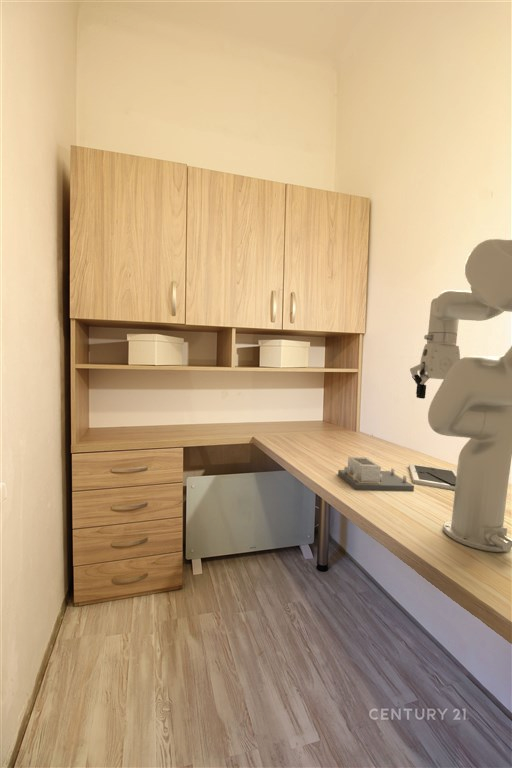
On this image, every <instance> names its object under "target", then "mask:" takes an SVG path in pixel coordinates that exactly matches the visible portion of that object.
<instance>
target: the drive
mask: <svg viewBox="0 0 512 768" xmlns="http://www.w3.org/2000/svg"><path fill="white" fill-rule="evenodd" d="M347 467H348V469H347V472H348V473H349V474H351V475H352V476H353V475H354V474H357V480H358V481H359V482H361V483H379V482H380V471H382V470H381V468H382V466H380V465H379V464H377V463H376V462H374V461H372V460H370V459H369V458H368V457H363V456H362V457H361V456H348V460H347Z"/></svg>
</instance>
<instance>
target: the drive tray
mask: <svg viewBox="0 0 512 768" xmlns="http://www.w3.org/2000/svg"><path fill="white" fill-rule="evenodd" d="M343 468H344V469H338V472H337V475H338V476H339V477H340V478H342V479H343V480H344V481H345V482H346V483H347V484H348V485H350V486H351V487H352V488H353V489H355V491H397V492H398V491H400V492H401V491H406V492H409V491H410V492H411V491H413V492H414V491H415V486H414V485H413V484H411V483H410V482H408V481H407V477H408V475H406V474H403V475H402V477H400V476H398V475H397V474H395V471H396V470H395V469H396V468H394V467H392V468H391V469H390V470H391V471H390V470H381V471H380V482H379V483H361V482H359V481H358V480H357V474H354V475H353V476H352V475H351V474H349V473H348V472H347V469H348V466H344V467H343Z"/></svg>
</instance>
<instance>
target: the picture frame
mask: <svg viewBox="0 0 512 768" xmlns="http://www.w3.org/2000/svg"><path fill="white" fill-rule="evenodd" d="M408 469H409V473H410V476H411V480H412V483H414V485H420V486H427V487H432V488H438V489H443V490H450V491H455V485H456V476H457V469H456V470H454V469H449V468H448V469H447V468H443V467H435V466H429V465H428V466H427V465H421V464H417V463H416V464H414V463H408Z"/></svg>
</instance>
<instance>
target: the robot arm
mask: <svg viewBox="0 0 512 768" xmlns="http://www.w3.org/2000/svg"><path fill="white" fill-rule="evenodd" d="M464 275H465V279H466V281H467V282H468V284H469V286H470V290H454V289H453V290H452V289H451V290H444V291H442V292H440V293H439V294H438V296H436V297H434V298H433V299H432V300H431V302H430V309H429V310H430V311H429V321H428V329H427V334H424V336H423V338H424V340H426V343H425V345H424V347H423V349H422V353H421V357H420V363H419V364H417V365H415V366H413V367H411V368H410V369H409V371H410V373H411V377H412V379H413V381H414V382H415V384H416V390H415V391H416V392H415V394H416V398H417V399H423V400H424V399H426V392H427V384H426V383H427V382H428V380H430V379H433V380H442V382H441V383H440V385H439V388H438V389H437V391H436V393H435V394H434V397H432V401H431V402H430V405H429V408H428V414H427V422H428V424H429V427H430V428H431V429H432V431H434V432H435V433H436V434H438V435H440V436H444V437H445V436H447V437H456V438H467V439H469V440H468V441H467V442H466V443H465V444H464V445H463V446H462V449H461V450H460V452H459V455H458V459H457V466H456V467H457V468H456V471H457V476H456V485H455V490H454V494H453V495H454V497H453V506H452V514H451V519H449V520H446V521H445V522H444V523H443V525H442V529H443V531H444V533H445V534H446V535H447V536H448V537H449V538H451V539H452V540H454V541H456V542H458V543H460V544H463V545H464V546H468V547H471V548H473V549H477V550H481V551H485V552H494V553H503V552H505V553H507V552H509V551H511V549H512V538H510V537H508V536H507V533H508V527H506V526H504V522H505V514H506V513H505V512H506V503H507V497H508V489H509V479H510V472H511V466H512V465H511V464H512V345H511V346H510V347H509V349H508V350H507V351H506V352H505V353H504V354H503V355H499V356H483V355H479V356H478V355H469V356H464V357H461V353H460V352H461V351H460V347H459V345H457V340H458V339H457V338H458V330H459V321H460V320H461V321H462V320H463V321H478V322H480V321H488V320H490V319H493V318H495V317H497V316H500V315H501V314H502V313H504V312H507V313H509V312H510V313H512V239H505V238H504V239H503V238H492V239H486V240H484V241H482V242H480V243H478V244H477V245H476V246H475V247H474V248H473V249H472V250H471V251H470V252H469V254H468V255H467V258H466V260H465V264H464ZM418 372H419V373H418Z"/></svg>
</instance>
